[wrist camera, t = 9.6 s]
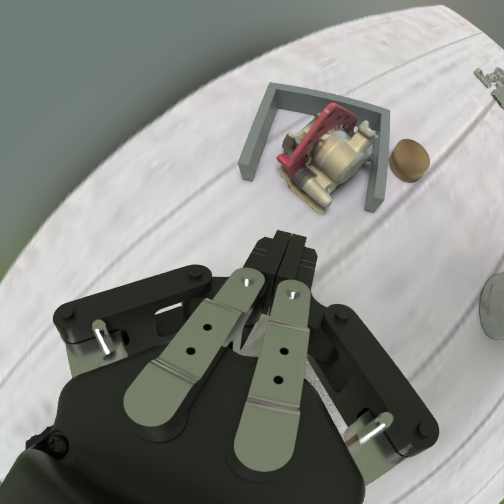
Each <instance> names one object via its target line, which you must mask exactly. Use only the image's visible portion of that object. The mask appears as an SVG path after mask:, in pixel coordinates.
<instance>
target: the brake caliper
mask: <svg viewBox="0 0 504 504" xmlns="http://www.w3.org/2000/svg"><path fill="white" fill-rule="evenodd" d="M338 115H339V116H338ZM337 116H338V117H337ZM357 120H358V118H357V116H356V115H355V114H354V113H352V112H350V111H349V110H347V109H345V108H344V107H342V106H340V105H338V104H336V103H331V104H329V105H327V106H326V107H325V108H324V109H323V111H322V112H321V113H318V114H317V115H316V116H315V118H314V119H313V120H312V121H311V122H310V123H309V124H308V125H307V126H306V127H304V128H303V129H302V131H300V132H299V133H297V134H295V135H293V134H292V133H290V132H289V133H288V134H287V135H286V137H285V139H284V141H283V144H282V147H283V149H284V151H285V153H286V154H280V155H278V156H277V160H278V161H279V162H280V163H281V164H282V165H283V166H282V167H281V168H280V176H281V177H283V178H285V179H286V180H287V181H288V186H289V188H290V189H291V190H292V191H293V192H294V193H295V194H296V195H297V196H299V197H301V198H302V199H303V200H304V201H305V202H306V203H307V204H308V205H309V206H310V207H311V208H312V209H314V210H315V211H316V212H319V213H321V214H324V213H325V211H326V210H325V208H324V207H327V206H329V205H330V204H331V203H332V198H331V196H330V194H331V193H332V192H333V191H334V190H335V188H336V186H337V185H339V184H342V183H344V182H346V181H347V180H348V179H349V178H350V177H352V176H353V175H354V174H355V173H356V172H357V171H358V170H359V169H360V168H361V166H362V165H363V163H364V161H370V162H375V161H376V157H375V156H374V154H373V152H372V150H371V149H370V148H369V147H370V145H371V144H372V143H373V142H374V141H375V140H377V139H378V136H377V135H376V132H375V131H372V130H371V128H370V127H369V122H368V121H366V120H365V121H363V122H362V123H361V124H360V125H359V126H358V131H357V132H355V133H354V127H355V125H356V123H357Z"/></svg>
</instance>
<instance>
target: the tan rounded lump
mask: <svg viewBox="0 0 504 504" xmlns="http://www.w3.org/2000/svg"><path fill="white" fill-rule="evenodd" d="M389 165H390V168H391V170H392V172H393V173H394V174H395V175H396V176H397V177H398V178H399V179H400V180H402V181H404V182H408V183H412V182H416V181H417V180H418V179H419V178H420V177H421V176H422V175H423V174H424V173H425V171H426V170H427V169H428V168H429V165H430V159H429V155H428V153H427V151H426V150H425V149H424V147H423V146H421V145H420V144H419V143H417V142H416V141H414V140H410V139H403V140H401V141H399V142H398V144H397V145H396V147H395V149H394V150H393V152H392V154H391V156H390V158H389Z"/></svg>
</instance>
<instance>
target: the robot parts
mask: <svg viewBox="0 0 504 504" xmlns="http://www.w3.org/2000/svg"><path fill="white" fill-rule="evenodd" d="M474 74H475V75H476V76H477V77H478V78H479V79H480V80H481V81H482V83H483V84H484V85H485V86H486V87H487V88H490V87H491V86H492V84H491V83H490V82H496V81H497V80H498V82H496V84H495V86H496V87H497V89H495V90H493V91H492V93H491V94H492V96H493V97H494V98H495V99H496V101H497V102H498V103H499V104H500V106H501V107H502V108H503V109H504V86H503V85H504V71H503V70H502V69H501V68H499V67H496V69H495V72H494V74H493V73H491V74H486V77H485V76H484V75H483V73H482V70H481V69H480V68H477V69H476V70H475V72H474ZM489 81H490V82H489Z"/></svg>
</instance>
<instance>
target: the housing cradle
mask: <svg viewBox="0 0 504 504" xmlns="http://www.w3.org/2000/svg"><path fill="white" fill-rule="evenodd" d="M331 103H336V104H338V105H340V106H342V107H344V108H345V109H347V110H349V111H350V112H352V113H354V114H355V115H356V116H357V118H358V120H357V123H356V125H355V126H359V125H360V124H361V123H362V122H363V121H365V120H366V121H368V122H369V127H370V128H371V130H372V131H375V132H376V135H377V136H378V139H377V140H375V141H374V142H373V150H372V152H373V154H374V156H375V157H376V161H375V162H371V168H370V176H369V184H368V191H367V198H366V204H365V210H366V211H369V212H373V213H374V212H375V211H376V209H377V208H378V207H379V206H380V205H381V203H382V202H383V201H384V198H385V189H386V179H387V168H388V154H389V134H390V110H388V109H385V108H382V107H378V106H375V105H372V104H369V103H365V102H362V101H358V100H355V99H351V98H347V97H343V96H339V95H335V94H331V93H326V92H322V91H317V90H312V89H307V88H302V87H296V86H291V85H284V84H278V83H269V85H268V87H267V90H266V92H265V95H264V97H263V100H262V102H261V105H260V107H259V110H258V112H257V115H256V117H255V120H254V122H253V125H252V127H251V130H250V132H249V135H248V138H247V140H246V143H245V145H244V148H243V151H242V153H241V156H240V159H239V161H238V165H239V169H240V172H241V175H242V178H243V180H248V181H253V178H254V175H255V172H256V169H257V166H258V163H259V160H260V157H261V154H262V151H263V148H264V145H265V142H266V140H267V137H268V134H269V131H270V128H271V125H272V122H273V119H274V117H275V114H276V111H277V108H280V109H285V110H291V111H296V112H301V113H306V114H311V115H315V116H316V115H317V114H318V113H321V112H322V111H323V109H324V108H325V107H326V106H327V105H329V104H331ZM338 116H339V115H338ZM338 116H337V117H338Z"/></svg>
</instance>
